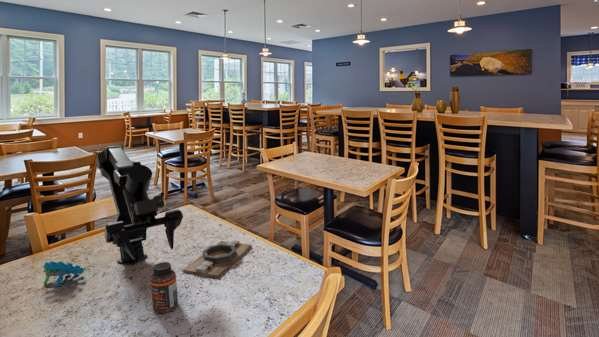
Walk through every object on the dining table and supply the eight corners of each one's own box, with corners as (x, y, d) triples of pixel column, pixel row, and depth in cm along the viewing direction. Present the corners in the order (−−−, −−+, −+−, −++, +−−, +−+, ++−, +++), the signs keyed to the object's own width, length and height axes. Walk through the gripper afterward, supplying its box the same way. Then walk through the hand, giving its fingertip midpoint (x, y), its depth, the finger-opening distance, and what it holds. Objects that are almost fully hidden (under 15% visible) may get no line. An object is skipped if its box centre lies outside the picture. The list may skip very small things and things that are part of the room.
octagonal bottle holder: (182, 272, 101) (182, 263, 101) (221, 242, 122) (221, 235, 121) (217, 278, 97) (217, 269, 97) (251, 247, 118) (251, 239, 117)
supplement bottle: (147, 313, 82) (143, 270, 79) (161, 299, 87) (157, 258, 85) (170, 315, 81) (166, 272, 78) (182, 301, 87) (179, 260, 84)
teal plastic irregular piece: (92, 269, 100) (66, 258, 92) (85, 289, 97) (57, 280, 89) (61, 271, 102) (33, 260, 94) (53, 291, 99) (23, 281, 91)
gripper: (100, 193, 81) (115, 250, 75) (178, 181, 93) (196, 230, 86) (99, 215, 89) (112, 270, 83) (171, 202, 100) (187, 248, 94)
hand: (154, 253), depth 86 cm, fingers open, 9 cm apart
